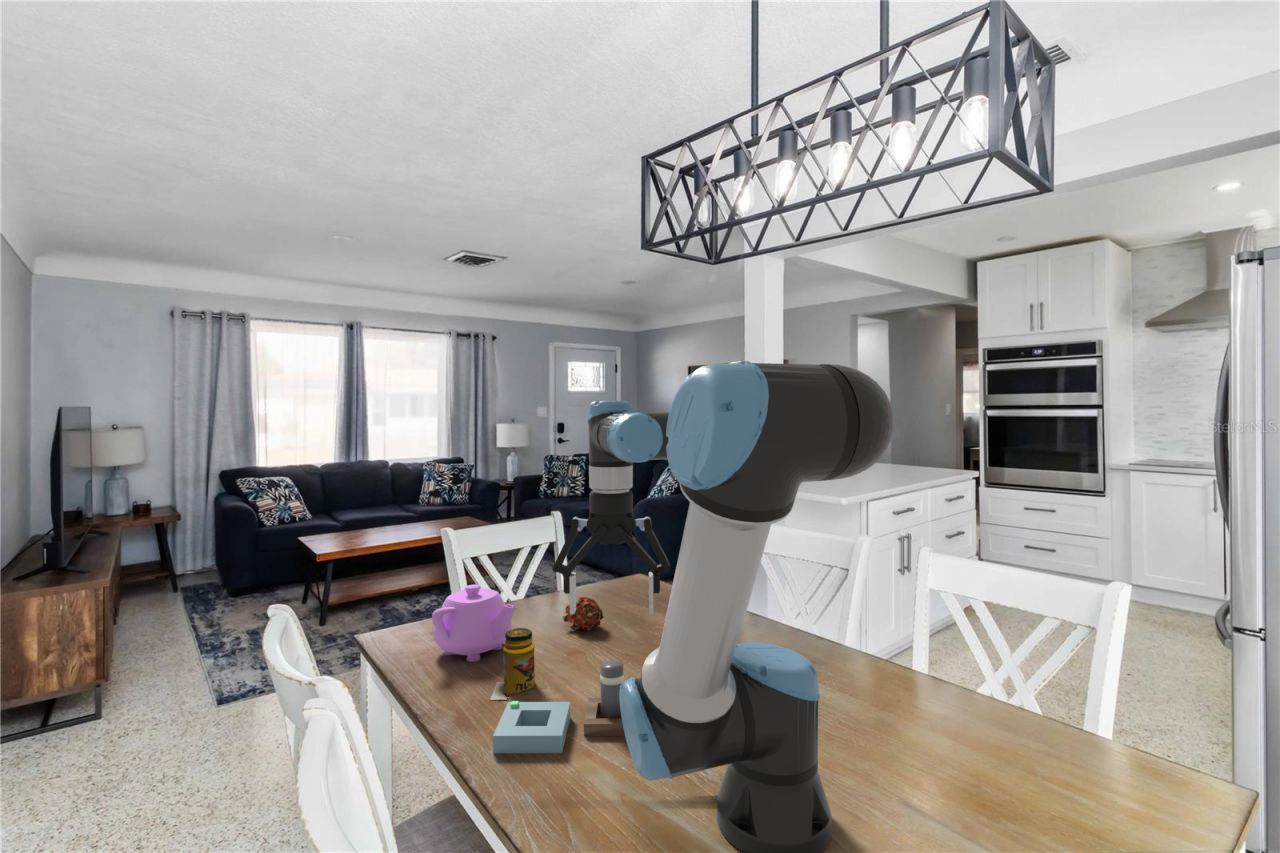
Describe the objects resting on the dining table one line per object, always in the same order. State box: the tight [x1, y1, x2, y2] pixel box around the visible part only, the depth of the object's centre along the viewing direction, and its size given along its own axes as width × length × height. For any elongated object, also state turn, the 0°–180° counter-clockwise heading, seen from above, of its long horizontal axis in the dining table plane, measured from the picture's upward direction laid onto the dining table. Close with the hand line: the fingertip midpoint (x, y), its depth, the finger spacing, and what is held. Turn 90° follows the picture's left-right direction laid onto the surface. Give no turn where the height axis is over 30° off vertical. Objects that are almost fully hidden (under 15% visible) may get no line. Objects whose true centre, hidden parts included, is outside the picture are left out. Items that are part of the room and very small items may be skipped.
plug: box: [599, 660, 625, 718], centre depth 106 cm, size 4×4×10 cm
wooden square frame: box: [583, 697, 625, 737], centre depth 107 cm, size 9×9×3 cm
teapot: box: [431, 584, 516, 663], centre depth 139 cm, size 20×20×15 cm
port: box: [492, 700, 571, 754], centre depth 103 cm, size 11×11×5 cm
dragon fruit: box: [562, 596, 605, 631], centre depth 155 cm, size 8×8×12 cm
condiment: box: [489, 627, 536, 701], centre depth 121 cm, size 7×8×12 cm
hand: (612, 611), depth 106 cm, fingers open, 13 cm apart
